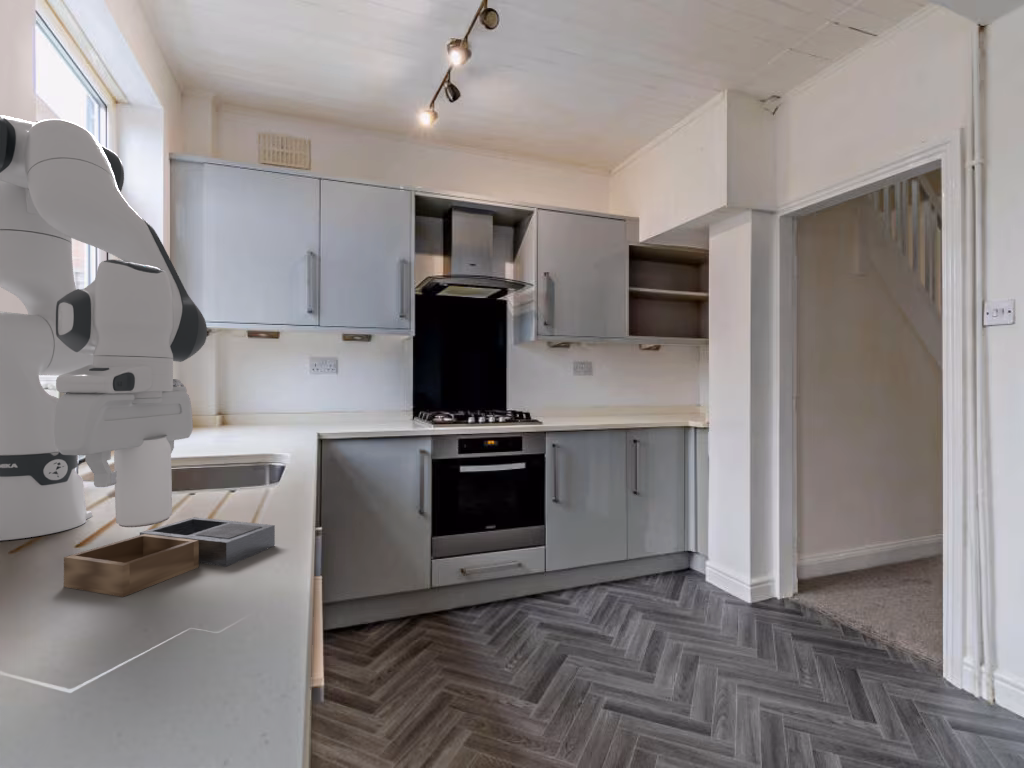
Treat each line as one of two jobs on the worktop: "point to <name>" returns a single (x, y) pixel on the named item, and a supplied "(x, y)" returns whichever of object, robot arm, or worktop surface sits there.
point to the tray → (221, 538)
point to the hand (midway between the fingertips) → (133, 479)
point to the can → (143, 483)
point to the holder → (130, 564)
